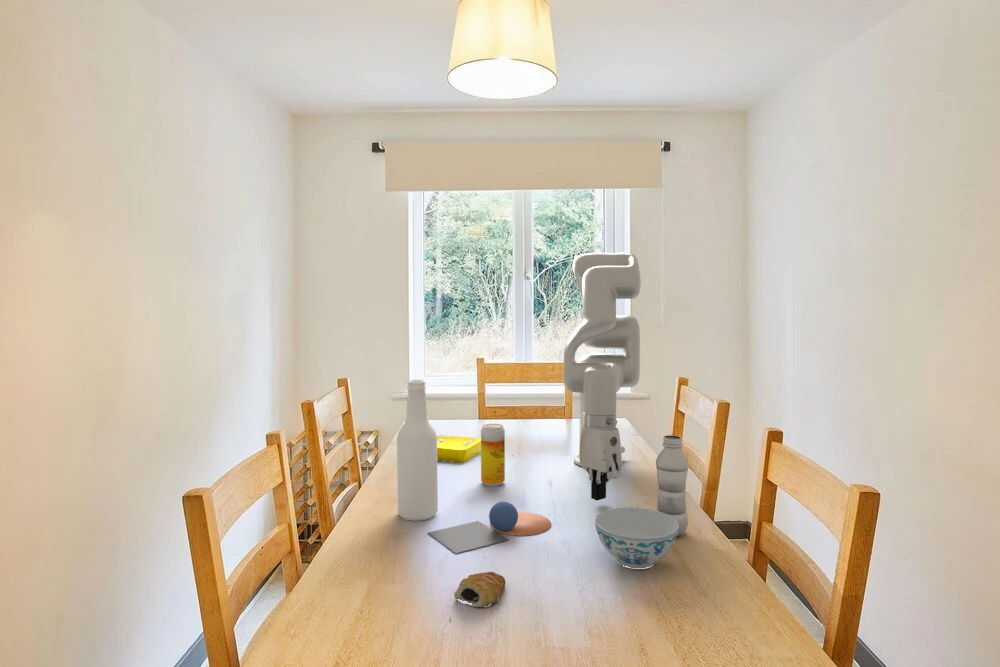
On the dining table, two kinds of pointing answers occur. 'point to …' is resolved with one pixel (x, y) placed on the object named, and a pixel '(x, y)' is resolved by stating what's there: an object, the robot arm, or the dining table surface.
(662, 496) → the plastic bottle
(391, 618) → the dining table surface
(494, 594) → the pastry
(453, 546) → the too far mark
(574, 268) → the robot arm
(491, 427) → the beer can
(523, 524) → the orange disc
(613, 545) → the chinaware
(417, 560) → the dining table surface
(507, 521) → the ball
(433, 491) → the alcohol
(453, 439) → the element tile
